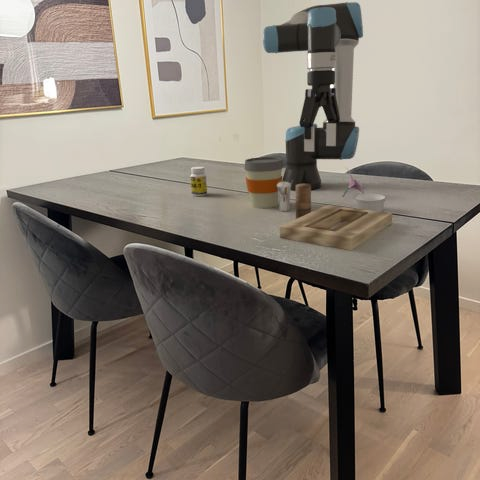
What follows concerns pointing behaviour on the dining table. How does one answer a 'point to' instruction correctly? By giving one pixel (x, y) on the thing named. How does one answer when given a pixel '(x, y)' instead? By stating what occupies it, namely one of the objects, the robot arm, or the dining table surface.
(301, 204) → the peg
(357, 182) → the lily
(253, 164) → the reusable coffee cup
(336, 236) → the seat board
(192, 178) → the supplement bottle
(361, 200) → the ramekin
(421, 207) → the dining table surface
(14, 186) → the dining table surface
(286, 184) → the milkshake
